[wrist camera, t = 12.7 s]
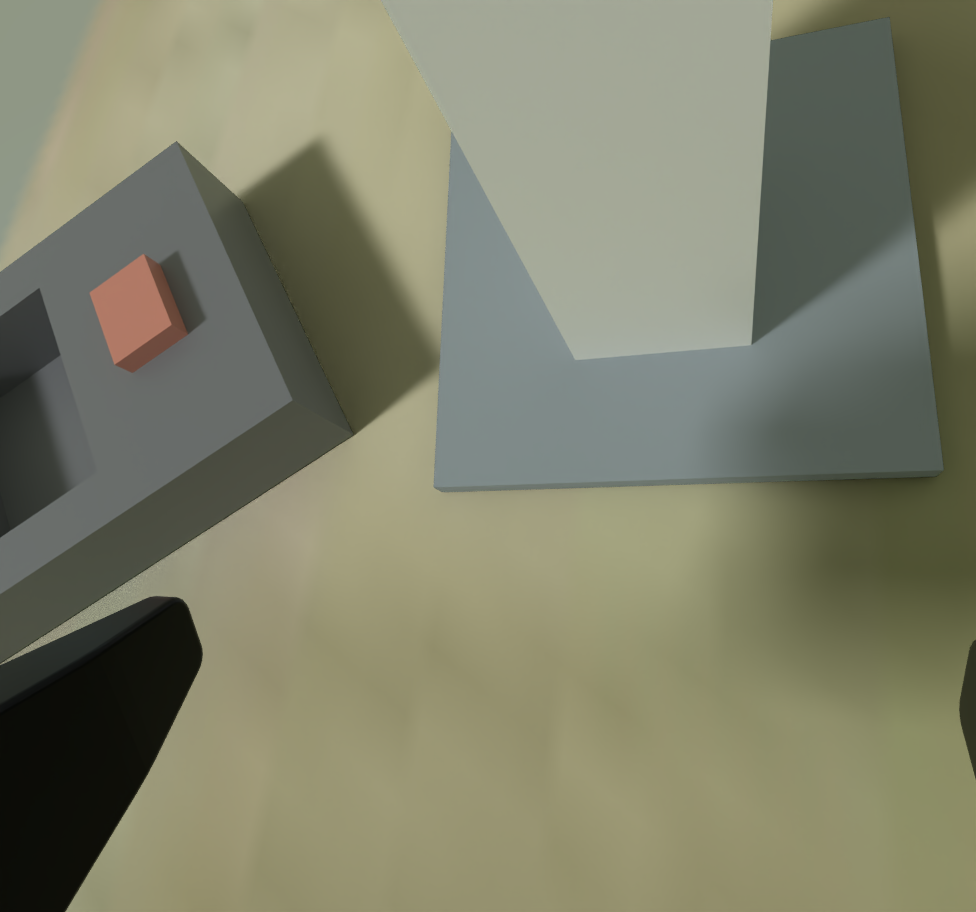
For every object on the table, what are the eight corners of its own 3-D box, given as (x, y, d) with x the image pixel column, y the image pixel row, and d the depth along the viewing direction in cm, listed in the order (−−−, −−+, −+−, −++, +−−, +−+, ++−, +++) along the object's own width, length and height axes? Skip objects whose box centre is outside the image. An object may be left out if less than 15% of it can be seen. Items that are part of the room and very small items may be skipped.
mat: (884, 36, 18) (889, 16, 18) (936, 476, 16) (943, 469, 15) (459, 117, 22) (453, 103, 21) (442, 492, 19) (433, 487, 18)
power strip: (242, 201, 23) (161, 126, 20) (353, 434, 20) (277, 392, 17) (-131, 468, 25) (-260, 441, 22) (-85, 717, 22) (-228, 729, 19)
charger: (739, 151, 18) (751, -648, 7) (751, 345, 17) (788, -250, 6) (575, 177, 19) (361, -470, 8) (575, 360, 18) (323, -107, 7)
